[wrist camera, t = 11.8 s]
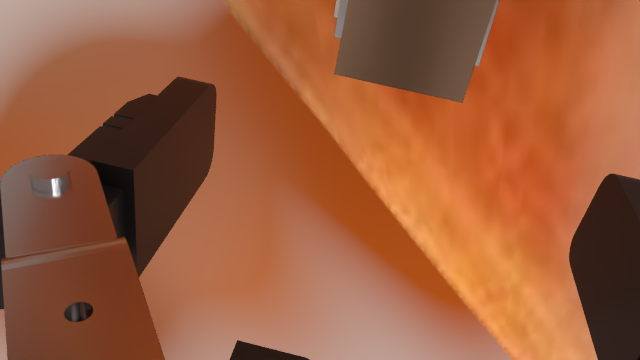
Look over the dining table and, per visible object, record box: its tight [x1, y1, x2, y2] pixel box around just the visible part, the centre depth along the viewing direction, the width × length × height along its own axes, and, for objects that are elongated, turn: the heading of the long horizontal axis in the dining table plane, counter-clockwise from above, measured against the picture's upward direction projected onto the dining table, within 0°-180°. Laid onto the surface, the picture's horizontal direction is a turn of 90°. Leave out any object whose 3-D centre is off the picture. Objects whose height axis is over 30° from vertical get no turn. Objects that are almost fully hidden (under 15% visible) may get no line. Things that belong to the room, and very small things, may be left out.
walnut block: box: [335, 0, 496, 103], centre depth 23 cm, size 5×5×6 cm
